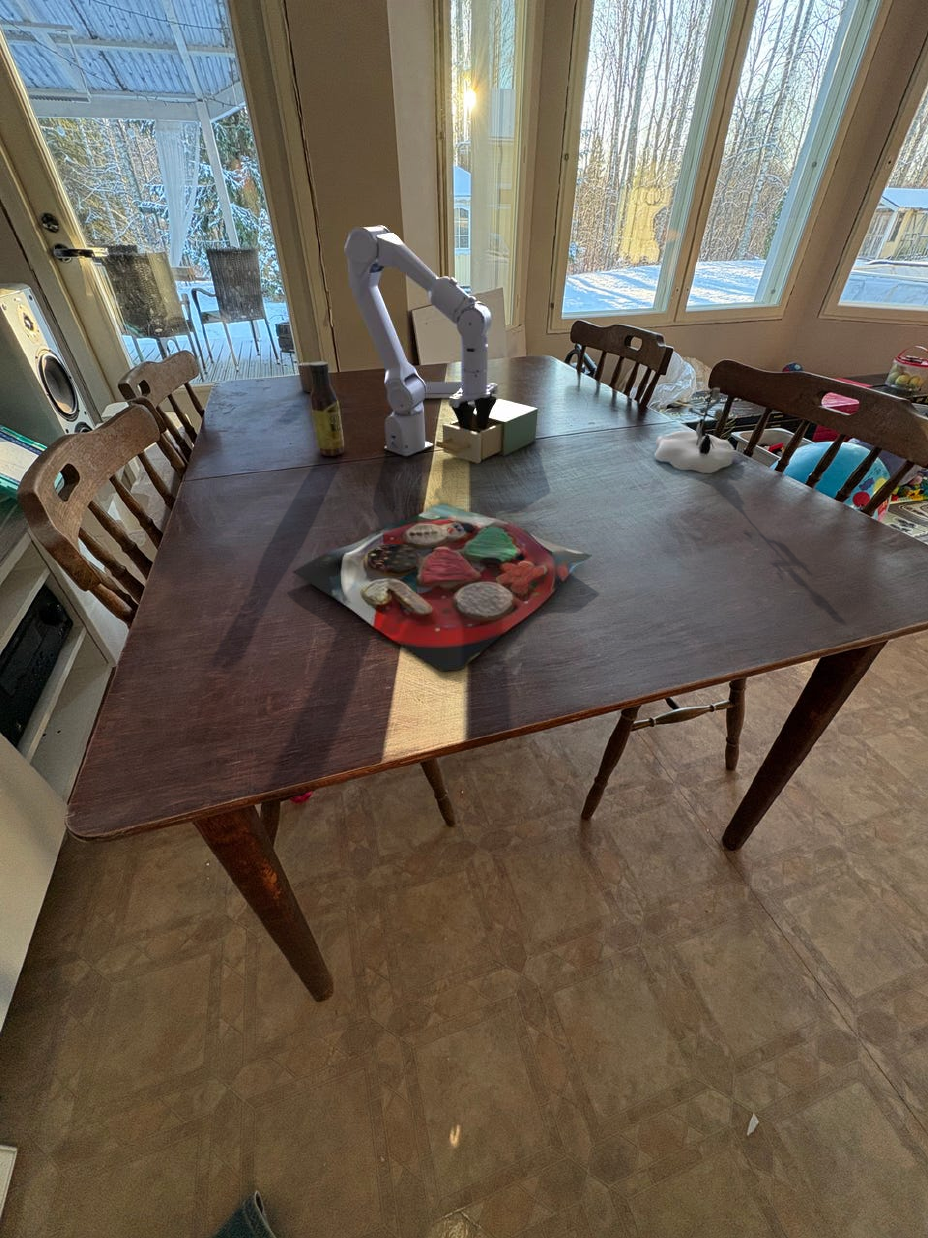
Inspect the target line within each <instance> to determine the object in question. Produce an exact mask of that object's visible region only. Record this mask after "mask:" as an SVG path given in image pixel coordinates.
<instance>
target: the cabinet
mask: <svg viewBox="0 0 928 1238" xmlns="http://www.w3.org/2000/svg"><path fill="white" fill-rule="evenodd" d="M538 414H539V408H538V407H533V406H529V405H525V404H521V403H517V402H513V401H510V400H505V399H501V398H498V399H496V403H495V405H494V406H493V408H492V411H491V413H490V416H489V420H493V421H496V422H500V423H503V424H504V428H503V450H502V451H500V452H497V453H496V454H497V455H500V456H507V455H508V454H510V453H513V452H515V451H517V450H519V449H521V448H523V447H525V446H527V445H530V444H532V443H534V442H536V435H537V425H538V423H537V422H538ZM473 415H475V416H477V415H476V408H475V410H474V413H473Z"/></svg>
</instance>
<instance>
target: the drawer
mask: <svg viewBox="0 0 928 1238" xmlns="http://www.w3.org/2000/svg"><path fill="white" fill-rule="evenodd" d="M441 427H442V440H440V439H439V440H437V441H436V442H435V445H436V447H437V448H440V449H442V451H443V453H445V454H447V455H451V456H454V457H457V458H459V459H462V460H466V461H469V462H472V463H474V464H479V463H481V462H482V460H485V459H486V458H489V457H491V456H493V455H496V454H497V452H500V451H502V450H503V428H504V424H503V423H500V422H496V421H493V420H489V419H488V423H487V427H486V429H485V430H482V429H479V428H478V427H477V416H475V415H473V417H472V423H471V429H475V430H478V431H481V432H480V433H477V432H473V431H470V430H467V429H463V428H460V426H459V422H458V419H456V420H453V421H451V422H450V423H447V422H445V423H443V424H442V426H441Z"/></svg>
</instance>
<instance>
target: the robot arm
mask: <svg viewBox="0 0 928 1238" xmlns="http://www.w3.org/2000/svg"><path fill="white" fill-rule="evenodd" d="M343 252H344V254H345V256H346V259H347V271H348V285H349V288H350V291H351V292H352V295H353V297H354V300H355V302H356V305H357V307H358V310H359V312H360V314H361V315H362V316H361V317H362V319H363V321H364V323H365V326H366V329H367V330H368V333H369V335H370V337H371V340H372V342H373V345H374V347H375V349H376V352H377V354H378V356H379V359H380V362H381V363H382V366H383V368H384V370H385V377H384V385H385V389H386V393H387V402H388V405H389V407H390V408H391V409H392V410H393V411H392V412H391V414H390V415H388V416H387V417H386V418H385V419H384V434H385V444H386V445H385V446H384V450H386V451H390V452H392V453H396V454H398V455H401V456H403V457H409V456H412V455H414V454H416V453H419V452H421V451H423V450H426V449H428V448H431V447H433V446H434V443H432V442H429V441H426V427H425V408H424V407H425V406H424V402H423V401H425V397H426V394H427V388H426V384H425V382H426V381H424V379H423V378H421V376H420V375H419V374H418V372H417V370H416V367H414V365H412V364H411V363H410V362H409V361H408V359H407V357H406V354H405V351H404V349H403V346H402V345H401V342H400V340H399V337H398V335H397V331H396V329H395V327H394V324H393V322H392V320H391V317H390V314H389V312H388V309H387V307H386V305H385V302H384V300H383V297H382V295H381V292H380V290H379V287H378V285H379V281H380V278H381V275H382V272H383V270H384V269H385V268H386V267H391V268H396V269H398V270H399V271H400V272H402V273H403V274H404V275H405V276H407V277H408V278H409V279H410V280H412V281H413V282H414V283H416V284H417V285H418V286H419V287H421V288H422V289H423V290H424V291H426V292H427V293H428V297H429V302H430V304H431V305H432V306H433V307H435V308H436V309H437V310H438V311H439V312H440V313H441V314H443V315H444V316H445V317H446V318H447V319H448V320H449V321H451V322H452V323H453V324H455V325H456V329H457V332H458V333H459V335H460V336H461V337H460V338H461V339H460V341H461V342H460V343H461V345H460V348H461V350H460V356H461V357H460V364H461V365H460V372H461V373H460V375H461V376H460V378H461V379H460V380H461V381H460V382H461V390H460V391H459V392H457V393H456V394H454V395H453V396H451V397H449V398H448V406H449V407H451V408H450V409H452V411H453V413H454V414H455V416H456V417H455V418H456V420H458V422H459V426H460V428H463V429H467V430H470V431H471V423H472V417H473V413H474V410H475V407H476V415H477V427H478V428H479V429H482V430H485V429H486V427H487V423H488V419H489V416H490V413H491V411H492V408H493V406H494V405H495V403H496V400H497V396H493V395H496V394H498V391H499V390H498V388H499V385H498V383H493V382H490V383H488V363H489V362H488V361H489V357H488V356H489V344H488V343H489V332H488V330H489V329H490V328H491V325H492V320H493V319H492V318H493V317H492V312H491V310H490V309H489V307H488V306H487V305H486V303H484V302H481V301H476V300H477V299H476V297H475V296H473V295H469V294H468V293H467V292H466V291H464V290H463V289H462V288H461V287H460V286H458V280H457V279H456V278H455V277H451V278H450V277H448V276H445V275H444V276H442V277H439V276H437V275H436V274H435V272H433V270H431V269H430V268H429V267H428V266H427V264H425V263H424V262H423V261H422V260H421V259H420V258H419V257H418V256H417V255H416V254H415V253H414V252H413V251H412V250H411V249H410V248H409V247H408V246H407V245H406V244H405V243H404V241H402V240H401V238H400V237H399V236H398V235H396V234H394V233H392V232H391V231H390V230H389V229H388V228H387V227H386V226H383V225H380V224H377V225H374V226H367V227H364V226H357V227H354V228H352V230H350V232H349V234H348V236H347V239H346V242H345V246H344V247H343ZM470 402H474V403H473V404H475V407H472V406H470V404H471V403H470Z"/></svg>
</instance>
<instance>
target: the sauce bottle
mask: <svg viewBox="0 0 928 1238" xmlns="http://www.w3.org/2000/svg"><path fill="white" fill-rule="evenodd" d="M309 363H310V364H309V367H310V371H311V374H312V380H313V385H314V386H313V389H312V392H311V393H310V397H309V398H310V405H311V415H312V419H313V424H314V425H313V426H314V431H315V437H316V442H317V447H318V449H319V453H320V455H322V456H325V457H335V456H340V455H342V454H343V453H344V452H345V439H344V432H343V426H342V418H341V411H340V404H339V399H338V397H337V395H336V393H335V391H334V389H333V386H332V384H331V381H330V374H329V364H328V362H326V361H313V362H309Z"/></svg>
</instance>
